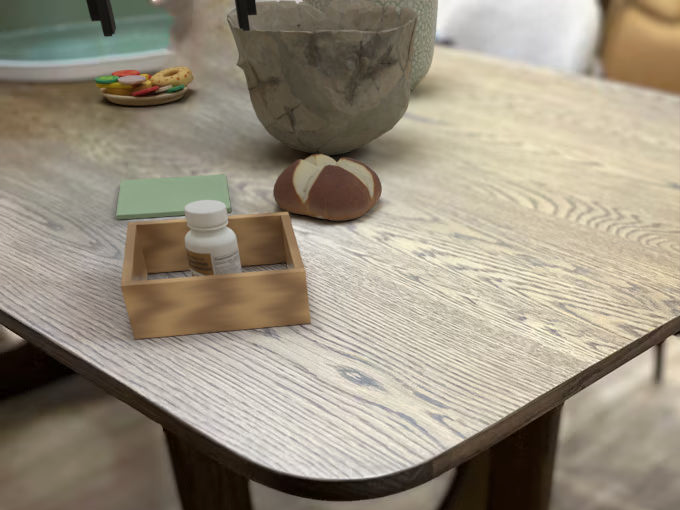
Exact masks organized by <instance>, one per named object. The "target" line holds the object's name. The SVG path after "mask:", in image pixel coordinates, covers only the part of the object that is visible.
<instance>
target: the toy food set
mask: <svg viewBox="0 0 680 510" xmlns="http://www.w3.org/2000/svg"><path fill="white" fill-rule="evenodd" d="M194 79H195V77H194V74H193V72H192V70H191V69H190V68H189V67H187V66H182V65H181V66H172V67H168V68H165V69H161V70H160V71H158V72H155V74H153V75H151V74H149V73H140V71H139V70H136V69H123V70H122V69H121V70H116V71H113V72H112V73H111V75H110V74H109V75H107V74H106V75H101V76H97V77H95V78H94V82H95V83H96V87H97V88H98V89H99V91H100V94H101V95H102V97H104V98H106V99H107V100H108V101H109V102H111V103H113V104H117V105H123V106H133V107H135V106H136V107H139V106H142V107H143V106H156V105H162V104H167V103H172V102H175V101H178V100H180V99H182V98H183V97H184V96H185V93H186V92H187V91H188V89H189V86H188V85H190V84H191V83H193V81H194Z"/></svg>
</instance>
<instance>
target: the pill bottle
mask: <svg viewBox="0 0 680 510" xmlns="http://www.w3.org/2000/svg"><path fill="white" fill-rule="evenodd" d="M184 211H185V215H184V216H185V219H186V221H187V226H188V227H189V228H191V230H190V231H189V232H188V233H187V234H186V236H185V246H186V251H187V256H188V260H189V265H190V270H189V271H190V275H191V277H194V276H207V275H219V274H232V273H243V269H242V266H241V262H240V256H239V250H238V243H237V238H236V235H235V233H234V232H233V231H232V230H231V229H230V228H228V227H226V225H227V224H228V216H229V215H228V212H227V210H226V206H225V204H224V203H223V202H220V201H215V200H200V201H194V202H191V203H189V204H187V205H186V206H185V207H184Z"/></svg>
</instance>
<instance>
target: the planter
mask: <svg viewBox="0 0 680 510" xmlns="http://www.w3.org/2000/svg"><path fill="white" fill-rule="evenodd" d="M303 1H307V2H308V3H309V4H310V5H312V6H313V7H314V8H316V9H318V10H320V11H321V12H322V13H323V12H324V8H325V7H328V6H329V4H330V3H331V2H332V1H333V0H302V2H303ZM350 1H354V0H350ZM355 1H369V2H374V3H376V4H378V5H382V6H383V7H384V8H385V11H386V8H387V6H388V5H391V6H394V7H395V8H396V11H397V12H398V14H400V10H401V8H403V7H407V8H409V9H411V10H413V11H416V13H417V15H418V22H417V27H416V33H415V39H414V45H413V47H414V49H415V52H414V53H413V58H412V72H411V84H410V92H411V91H412V90H414V89H415V88H417V86H419V84H420V83H422V82H423V80H424V79H425V78H426V76H427V75H428V74H429V71H430V69H431V66H432V63H433V60H434V54H435V45H436V36H437V33H436V32H437V25H438V12H439V11H438V9H439V0H355Z"/></svg>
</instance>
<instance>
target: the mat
mask: <svg viewBox="0 0 680 510" xmlns="http://www.w3.org/2000/svg"><path fill="white" fill-rule="evenodd" d="M227 180H228V179H227V174H226V173H223V174H207V175H206V174H205V175H187V176H172V177H155V178H153V177H151V178H138V179H137V178H135V179H121V180H120V185H119V192H118V199H117V206H116V212H115V217H116V220H117V221H118V220H119V221H120V220H121V221H122V220H135V219H150V218H164V217H165V218H166V217H180V216H185V211H184V207H185V206H186V205H187V204H189V203H191V202H194V201H200V200H215V201H220V202H223V203H224V204H225V206H226V210H227V213H232V208H231V207H232V206H231V201H230V195H229V194H230V193H229V187H228V181H227Z"/></svg>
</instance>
